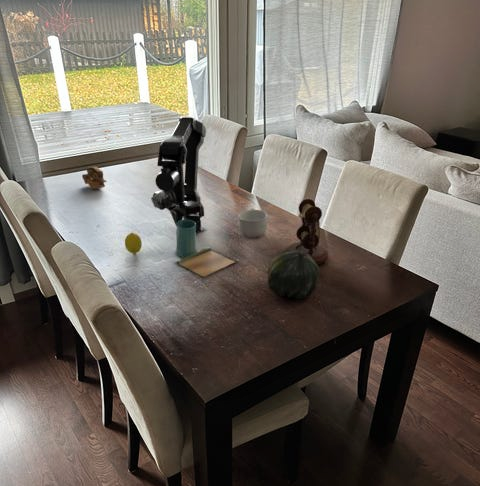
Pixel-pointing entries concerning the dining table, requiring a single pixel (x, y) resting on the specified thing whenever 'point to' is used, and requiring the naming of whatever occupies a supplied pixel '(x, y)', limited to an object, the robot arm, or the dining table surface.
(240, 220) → the teacup
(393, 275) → the dining table surface
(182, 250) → the cup
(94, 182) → the wooden carving
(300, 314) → the dining table surface
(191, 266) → the cork mat
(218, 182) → the dining table surface
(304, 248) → the brown spool stand
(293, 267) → the squash
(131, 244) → the lemon
